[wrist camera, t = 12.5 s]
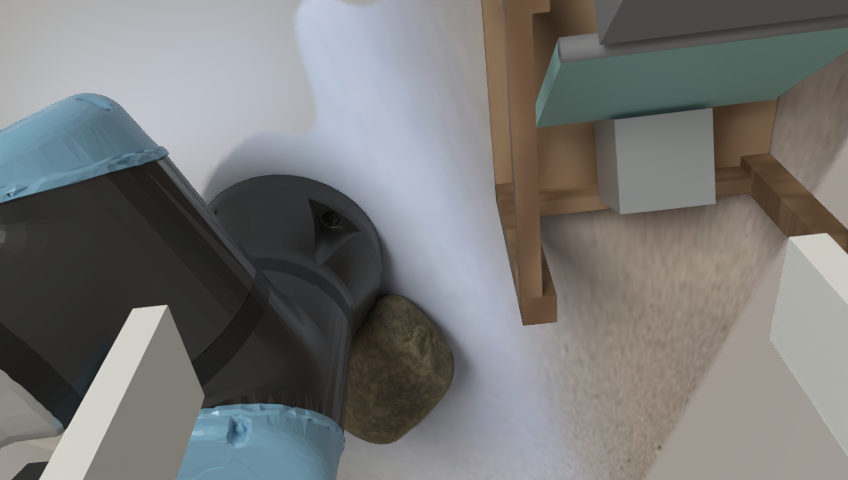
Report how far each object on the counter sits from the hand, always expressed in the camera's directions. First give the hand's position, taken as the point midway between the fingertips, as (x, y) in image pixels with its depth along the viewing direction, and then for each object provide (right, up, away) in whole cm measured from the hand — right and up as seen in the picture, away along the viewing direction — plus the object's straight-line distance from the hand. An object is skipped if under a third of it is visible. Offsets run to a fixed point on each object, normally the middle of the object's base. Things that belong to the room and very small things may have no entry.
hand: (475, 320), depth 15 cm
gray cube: (+14, +10, +30) cm, 35 cm away
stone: (-4, -8, +47) cm, 48 cm away
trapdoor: (+12, +15, +20) cm, 28 cm away
